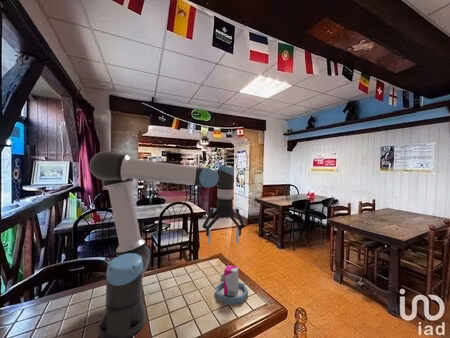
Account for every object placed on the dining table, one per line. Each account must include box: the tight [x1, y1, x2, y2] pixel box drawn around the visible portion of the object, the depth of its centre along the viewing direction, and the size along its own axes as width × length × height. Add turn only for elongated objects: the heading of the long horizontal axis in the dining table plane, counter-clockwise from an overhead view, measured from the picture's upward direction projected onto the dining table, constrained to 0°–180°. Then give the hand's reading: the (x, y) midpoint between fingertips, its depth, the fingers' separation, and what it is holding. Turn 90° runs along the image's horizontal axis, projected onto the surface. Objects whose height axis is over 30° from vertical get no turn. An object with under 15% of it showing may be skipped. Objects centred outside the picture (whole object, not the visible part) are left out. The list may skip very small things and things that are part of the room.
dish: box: [215, 280, 249, 306], centre depth 90 cm, size 14×14×2 cm
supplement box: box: [223, 264, 240, 297], centre depth 90 cm, size 6×6×12 cm
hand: (223, 242), depth 92 cm, fingers open, 13 cm apart
